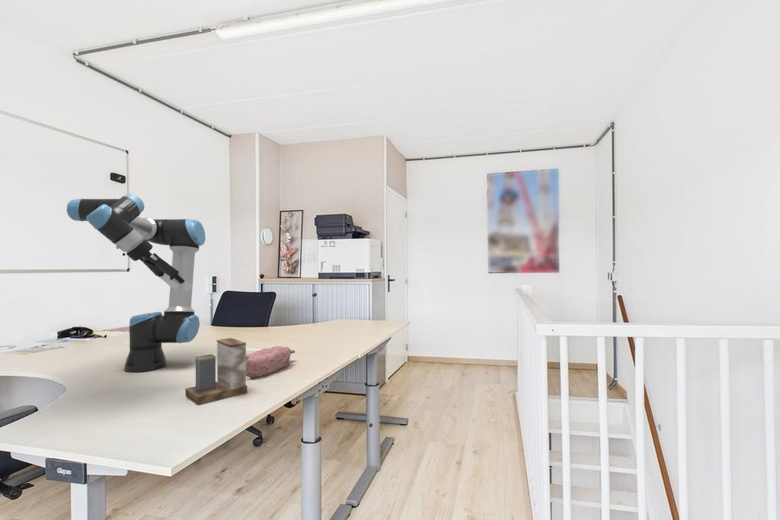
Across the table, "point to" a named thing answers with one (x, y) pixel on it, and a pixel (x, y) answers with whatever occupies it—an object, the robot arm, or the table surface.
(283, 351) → the ice cream bar
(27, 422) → the table surface
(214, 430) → the table surface
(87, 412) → the table surface
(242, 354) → the stand
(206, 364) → the case
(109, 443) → the table surface
